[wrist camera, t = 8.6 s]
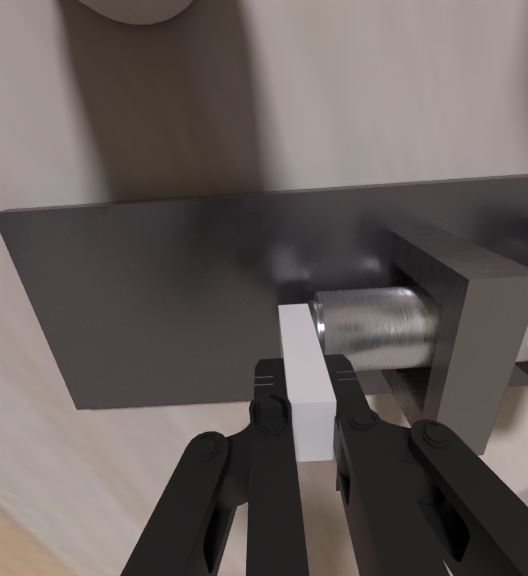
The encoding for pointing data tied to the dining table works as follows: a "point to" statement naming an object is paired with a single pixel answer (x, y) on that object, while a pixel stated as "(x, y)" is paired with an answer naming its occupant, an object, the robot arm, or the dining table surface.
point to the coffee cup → (138, 9)
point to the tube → (381, 326)
